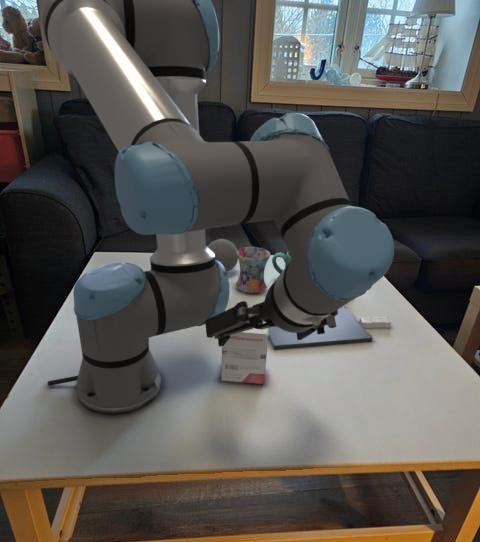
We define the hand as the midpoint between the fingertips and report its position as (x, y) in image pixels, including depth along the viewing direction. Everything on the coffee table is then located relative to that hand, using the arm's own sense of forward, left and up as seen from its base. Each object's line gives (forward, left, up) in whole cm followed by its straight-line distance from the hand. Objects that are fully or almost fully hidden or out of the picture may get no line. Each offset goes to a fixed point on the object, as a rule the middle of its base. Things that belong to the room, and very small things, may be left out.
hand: (259, 335), depth 72 cm
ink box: (0, +9, -15) cm, 18 cm away
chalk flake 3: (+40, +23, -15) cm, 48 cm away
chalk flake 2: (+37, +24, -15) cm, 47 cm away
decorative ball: (+5, +60, -15) cm, 62 cm away
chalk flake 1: (+35, +24, -15) cm, 45 cm away
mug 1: (+12, +49, -15) cm, 53 cm away
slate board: (+21, +25, -15) cm, 36 cm away
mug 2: (+26, +49, -15) cm, 57 cm away
